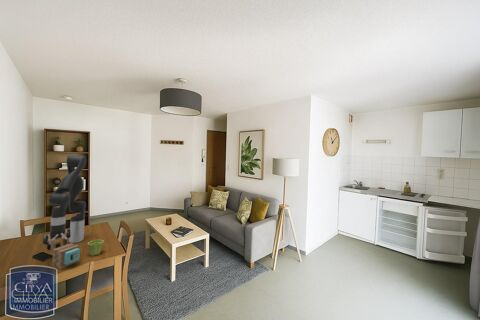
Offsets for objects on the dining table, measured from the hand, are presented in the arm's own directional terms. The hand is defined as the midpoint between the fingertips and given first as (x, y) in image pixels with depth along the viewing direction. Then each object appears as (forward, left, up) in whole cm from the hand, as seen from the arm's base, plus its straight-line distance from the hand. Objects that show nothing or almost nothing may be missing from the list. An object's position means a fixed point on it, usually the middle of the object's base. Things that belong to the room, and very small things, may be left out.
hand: (56, 247), depth 131 cm
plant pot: (+13, +17, -9) cm, 23 cm away
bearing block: (+10, 0, -9) cm, 13 cm away
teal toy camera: (+16, 0, -6) cm, 17 cm away
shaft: (+9, 0, -3) cm, 9 cm away
